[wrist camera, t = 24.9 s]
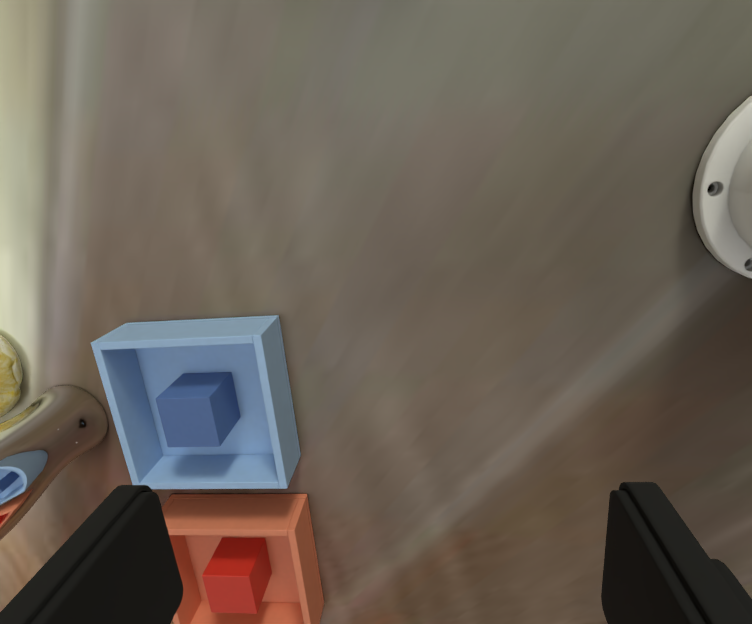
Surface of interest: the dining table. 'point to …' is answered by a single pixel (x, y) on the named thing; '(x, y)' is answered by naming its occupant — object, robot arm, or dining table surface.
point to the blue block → (199, 409)
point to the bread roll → (9, 376)
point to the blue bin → (202, 355)
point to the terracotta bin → (247, 520)
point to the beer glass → (44, 446)
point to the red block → (237, 575)
